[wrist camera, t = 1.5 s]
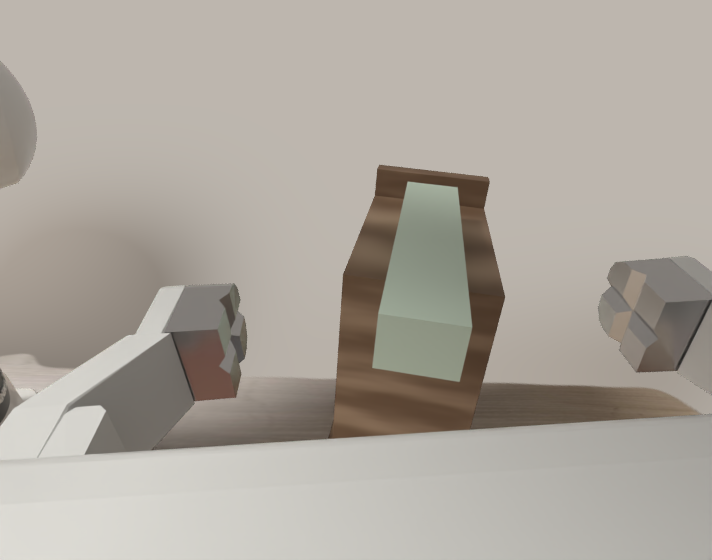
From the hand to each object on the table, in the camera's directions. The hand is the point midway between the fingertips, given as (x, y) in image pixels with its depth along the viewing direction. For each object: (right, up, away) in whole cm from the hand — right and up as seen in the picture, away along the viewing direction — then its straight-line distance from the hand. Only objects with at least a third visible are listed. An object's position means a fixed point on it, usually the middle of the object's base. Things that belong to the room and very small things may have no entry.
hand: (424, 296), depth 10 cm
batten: (+3, +1, +20) cm, 20 cm away
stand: (+2, -20, +38) cm, 43 cm away
